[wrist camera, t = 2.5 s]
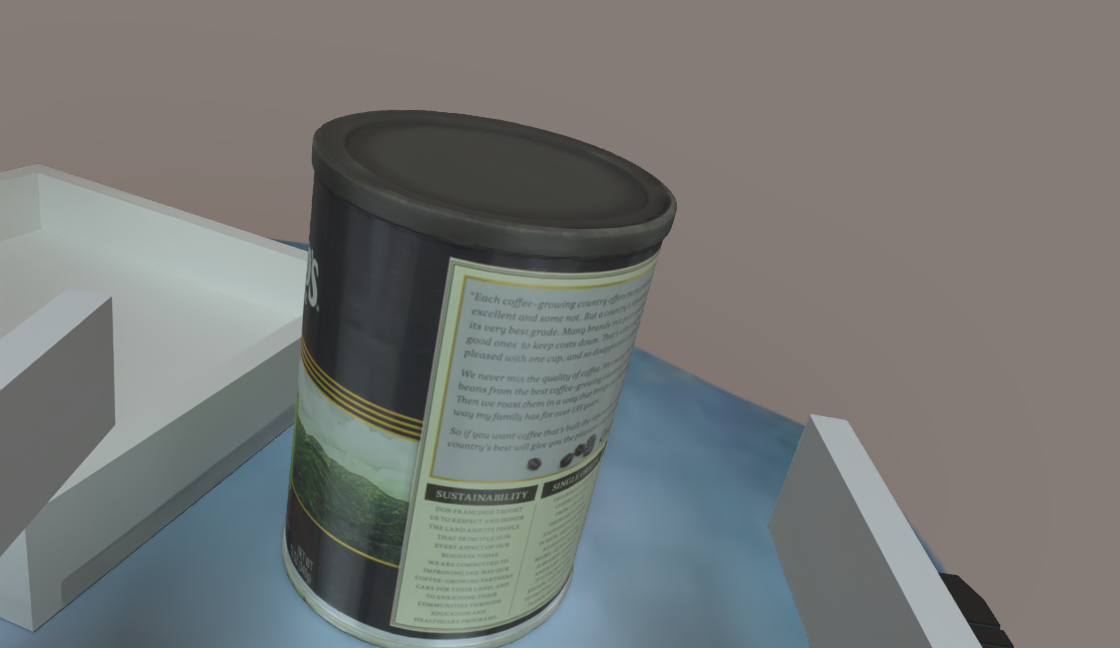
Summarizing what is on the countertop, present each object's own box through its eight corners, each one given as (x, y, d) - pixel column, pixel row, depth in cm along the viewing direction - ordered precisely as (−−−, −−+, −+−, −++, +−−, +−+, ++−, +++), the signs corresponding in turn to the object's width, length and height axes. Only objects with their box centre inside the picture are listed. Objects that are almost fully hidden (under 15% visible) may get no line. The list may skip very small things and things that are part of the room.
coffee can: (221, 611, 26) (242, 158, 20) (345, 433, 35) (385, 90, 29) (552, 699, 25) (675, 264, 19) (589, 496, 35) (680, 160, 29)
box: (-475, 400, 28) (-516, 288, 26) (42, 236, 45) (38, 163, 44) (33, 632, 24) (24, 518, 22) (380, 353, 41) (390, 278, 40)
